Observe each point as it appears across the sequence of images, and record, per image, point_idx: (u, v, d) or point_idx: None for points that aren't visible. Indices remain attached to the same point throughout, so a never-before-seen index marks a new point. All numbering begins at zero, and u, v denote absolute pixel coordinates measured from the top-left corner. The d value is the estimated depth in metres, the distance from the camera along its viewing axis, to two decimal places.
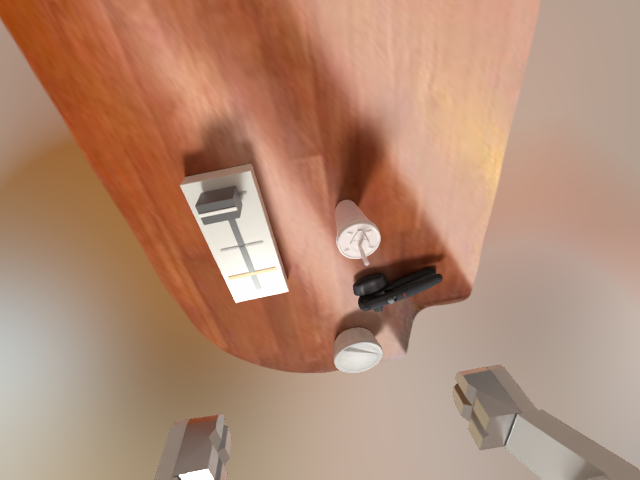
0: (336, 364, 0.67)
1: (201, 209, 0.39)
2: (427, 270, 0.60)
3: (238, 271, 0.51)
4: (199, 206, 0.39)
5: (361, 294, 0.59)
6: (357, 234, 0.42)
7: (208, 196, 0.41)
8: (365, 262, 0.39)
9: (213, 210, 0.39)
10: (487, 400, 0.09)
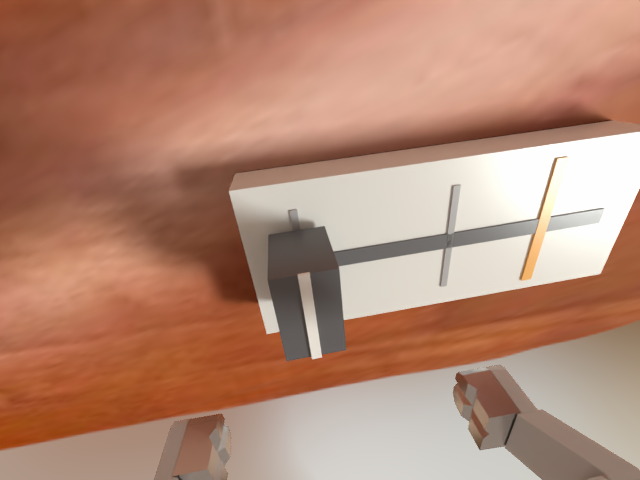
0: None
1: (298, 350, 0.14)
2: None
3: (517, 257, 0.20)
4: (288, 353, 0.14)
5: None
6: None
7: None
8: None
9: (303, 327, 0.14)
10: (487, 400, 0.09)
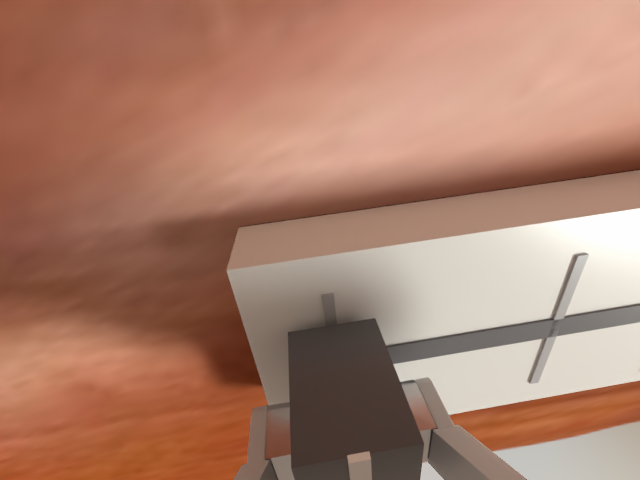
0: None
1: None
2: None
3: None
4: None
5: None
6: None
7: None
8: None
9: None
10: None
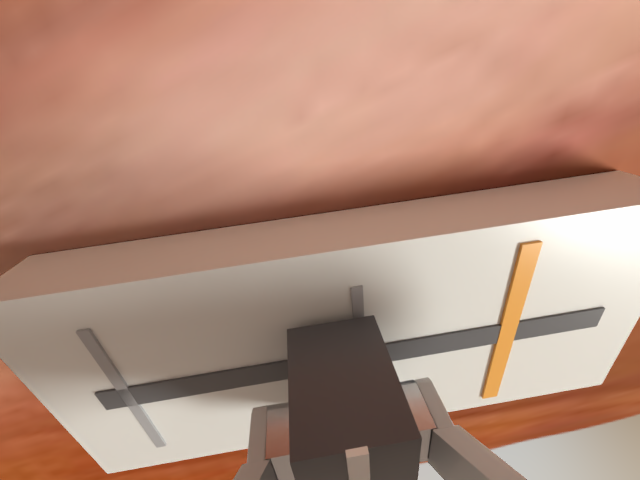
0: None
1: None
2: None
3: (474, 372, 0.13)
4: None
5: None
6: None
7: None
8: None
9: None
10: None
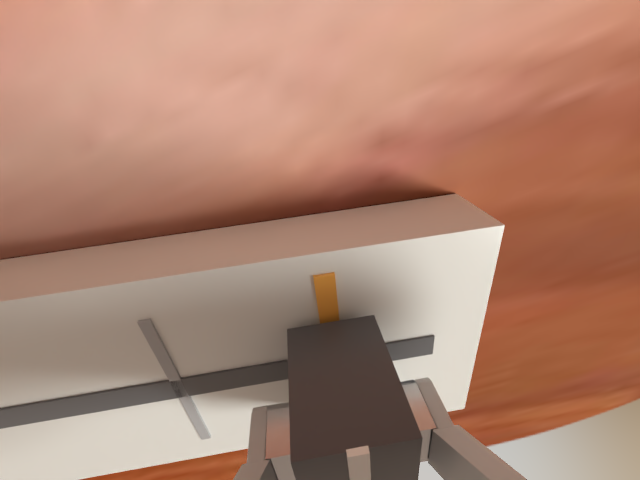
0: None
1: None
2: None
3: None
4: None
5: None
6: None
7: None
8: None
9: None
10: None
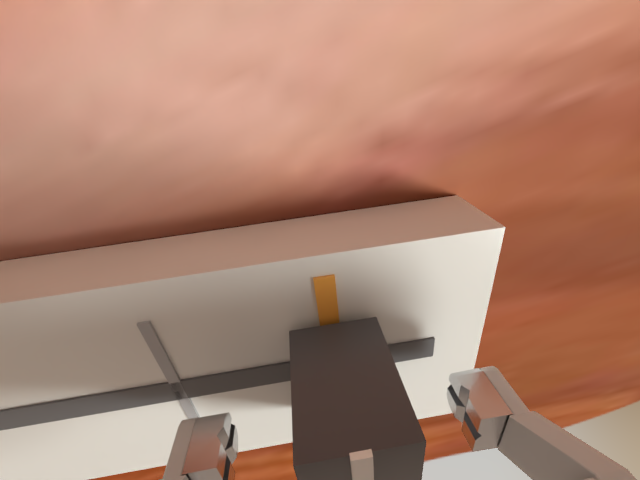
0: None
1: None
2: None
3: None
4: None
5: None
6: None
7: None
8: None
9: None
10: (479, 401, 0.09)
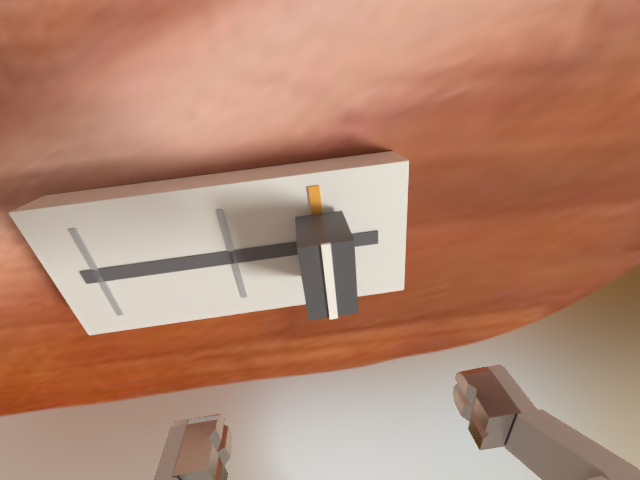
0: None
1: (318, 311, 0.17)
2: None
3: None
4: (310, 313, 0.17)
5: None
6: None
7: None
8: None
9: (323, 290, 0.17)
10: (487, 400, 0.09)
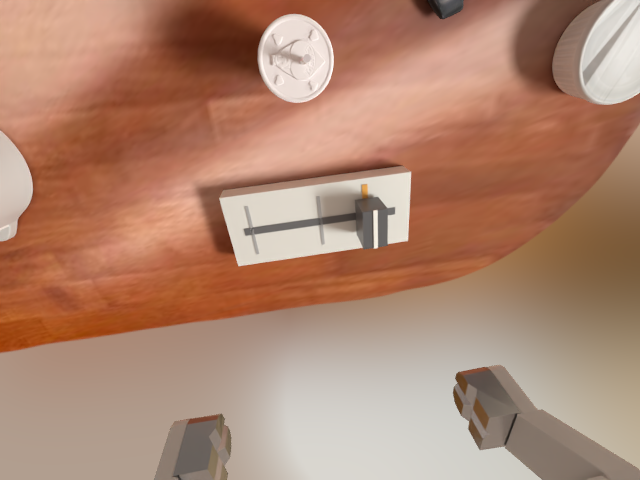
0: (616, 100, 0.34)
1: (368, 244, 0.36)
2: None
3: None
4: (365, 245, 0.36)
5: None
6: (279, 65, 0.24)
7: (359, 231, 0.38)
8: (304, 60, 0.21)
9: (372, 233, 0.36)
10: (487, 400, 0.09)
